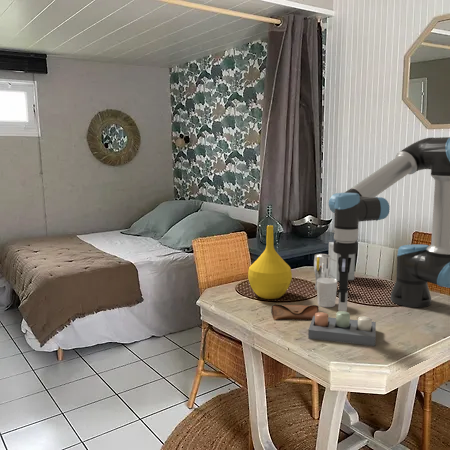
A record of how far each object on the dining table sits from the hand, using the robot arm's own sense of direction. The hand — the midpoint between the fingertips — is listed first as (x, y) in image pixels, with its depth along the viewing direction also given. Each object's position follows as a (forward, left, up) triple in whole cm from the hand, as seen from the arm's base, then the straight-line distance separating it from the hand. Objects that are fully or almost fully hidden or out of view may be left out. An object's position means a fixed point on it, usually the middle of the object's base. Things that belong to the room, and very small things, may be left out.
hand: (342, 310), depth 155 cm
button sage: (0, 0, -5) cm, 5 cm away
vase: (+32, -33, -9) cm, 47 cm away
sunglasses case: (+17, -12, -9) cm, 23 cm away
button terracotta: (+7, 0, -6) cm, 9 cm away
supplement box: (+5, -67, -9) cm, 68 cm away
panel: (0, 0, -9) cm, 9 cm away
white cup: (+8, -28, -9) cm, 31 cm away
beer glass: (+12, -48, -9) cm, 50 cm away
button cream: (-7, 0, -6) cm, 10 cm away
